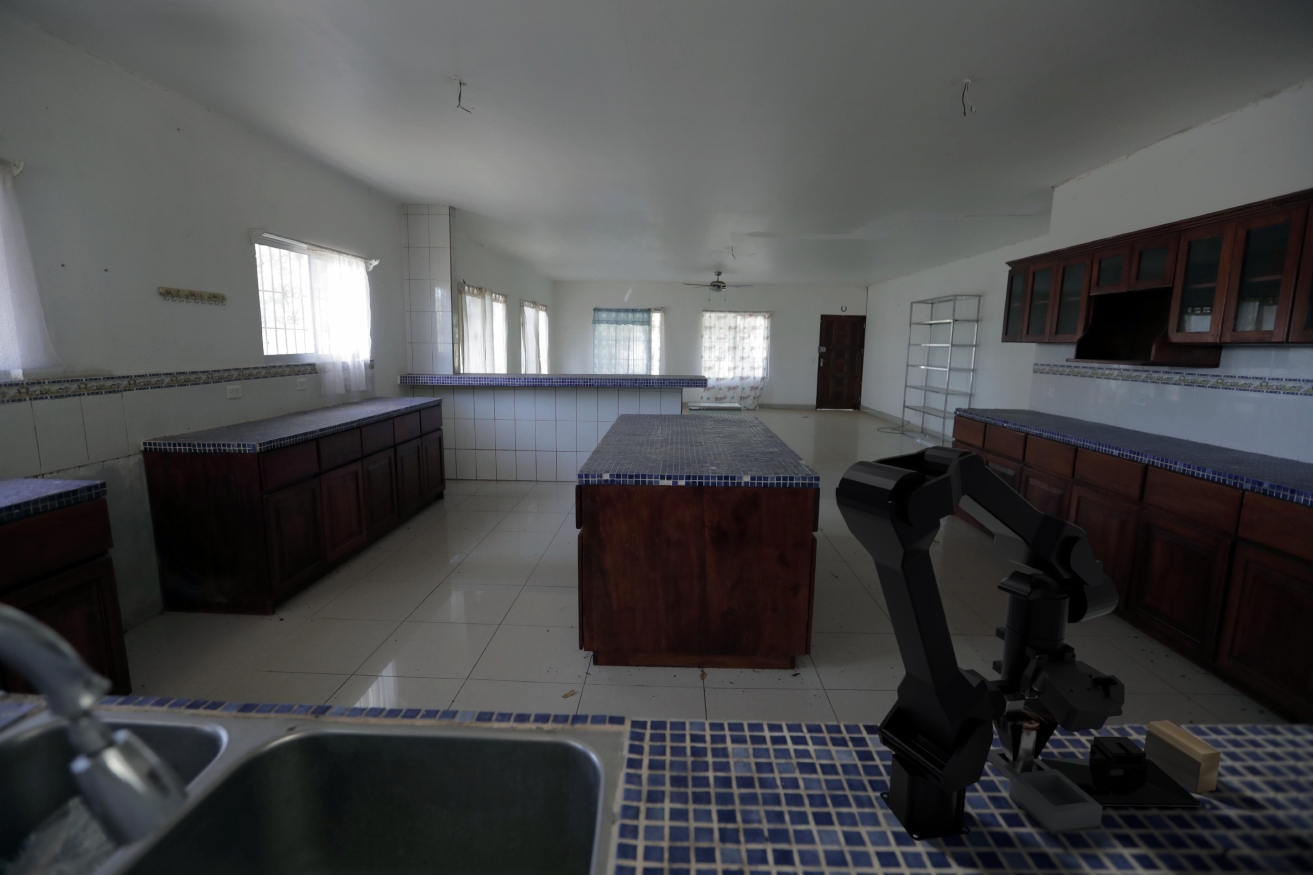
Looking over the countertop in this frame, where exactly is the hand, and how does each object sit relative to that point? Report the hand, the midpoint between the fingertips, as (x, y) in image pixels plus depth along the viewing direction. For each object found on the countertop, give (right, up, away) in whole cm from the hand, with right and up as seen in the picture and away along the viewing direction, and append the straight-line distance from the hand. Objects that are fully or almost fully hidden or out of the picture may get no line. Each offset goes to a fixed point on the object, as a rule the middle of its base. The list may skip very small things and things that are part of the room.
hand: (1021, 757), depth 68 cm
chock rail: (+18, -2, 0) cm, 18 cm away
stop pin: (0, -2, 0) cm, 2 cm away
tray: (0, -2, -6) cm, 7 cm away
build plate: (+10, -4, -3) cm, 11 cm away
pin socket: (0, -2, 0) cm, 2 cm away
